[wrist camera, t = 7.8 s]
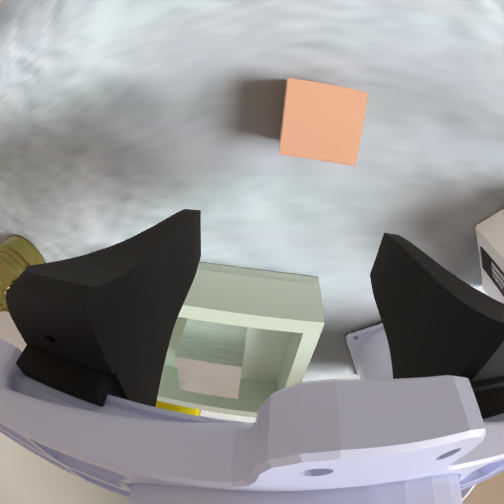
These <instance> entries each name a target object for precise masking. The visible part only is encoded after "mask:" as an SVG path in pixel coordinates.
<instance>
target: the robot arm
mask: <svg viewBox="0 0 504 504" xmlns="http://www.w3.org/2000/svg"><path fill="white" fill-rule="evenodd" d="M200 257H201V231H200V210H189V209H184V210H182V211H180V212H178V213H176V214H174V215H172V216H171V217H169V218H167V219H165V220H164V221H162V222H160V223H158V224H157V225H155V226H153V227H151V228H149V229H147V230H145V231H143V232H141V233H140V234H138V235H136V236H134V237H132V238H130V239H127V240H125V241H123V242H120V243H118V244H116V245H113V246H110V247H108V248H105V249H102V250H99V251H96V252H93V253H90V254H86V255H83V256H79V257H75V258H71V259H66V260H62V261H57V262H50V263H43V264H37V265H29V266H28V267H27V268H26V269H25V270H24V271H23V272H22V273H21V274H20V275H19V277H18V278H17V279H16V280H15V281H14V282H13V283H12V284H11V285H10V287H9V288H8V289H7V291H6V303H7V308H8V311H9V313H10V315H11V317H12V319H13V321H14V323H15V325H16V327H17V328H18V330H19V332H20V333H21V335H22V337H23V339H24V341H25V342H26V344H27V346H26V348H25V349H24V351H23V352H22V351H21V350H20V349H18V348H17V347H16V346H14V345H12V344H10V343H8V342H6V341H4V340H2V339H0V432H1V433H3V434H5V435H6V436H7V437H9V438H10V439H12V440H13V441H15V442H17V443H18V444H20V445H21V446H23V447H24V448H26V449H28V450H29V451H31V452H33V453H34V454H36V455H38V456H40V457H41V458H43V459H45V460H47V461H48V462H50V463H52V464H54V465H56V466H58V467H60V468H61V469H63V470H65V471H67V472H69V473H71V474H73V475H76V476H78V477H80V478H82V479H84V480H86V481H88V482H91V483H93V484H95V485H98V486H100V487H102V488H105V489H107V490H110V491H113V492H115V493H118V494H121V495H123V496H126V497H128V501H127V504H463V503H462V501H463V500H464V499H465V497H466V496H467V495H468V494H469V493H470V492H471V490H472V489H473V488H474V486H475V485H476V484H477V483H479V482H482V481H484V480H486V479H488V478H490V477H492V476H494V475H496V474H498V473H500V472H502V471H504V304H503V303H501V302H499V301H497V300H495V299H493V298H491V297H489V296H487V295H485V294H484V293H482V292H480V291H478V290H476V289H475V288H473V287H471V286H470V285H468V284H467V283H465V282H464V281H462V280H460V279H459V278H457V277H456V276H455V275H453V274H452V273H450V272H449V271H448V270H446V269H445V268H443V267H442V266H441V265H439V264H438V263H437V262H435V261H434V260H433V259H432V258H430V257H429V256H428V255H426V254H425V253H424V252H422V251H421V250H420V249H418V248H417V247H416V246H414V245H413V244H412V243H410V242H409V241H407V240H406V239H404V238H403V237H401V236H399V235H395V234H389V233H384V236H383V239H382V242H381V245H380V248H379V251H378V254H377V257H376V260H375V262H374V265H373V268H372V271H371V274H370V277H371V283H372V289H373V294H374V298H375V301H376V304H377V308H378V311H379V314H380V317H381V320H382V323H381V324H378V325H375V326H372V327H369V328H366V329H362V330H359V331H356V332H352V333H349V334H348V335H346V341H347V344H348V347H349V350H350V353H351V356H352V359H353V362H354V366H355V369H356V372H357V375H358V378H360V379H329V380H319V381H309V382H300V383H298V384H295V385H293V386H290V387H287V388H284V389H282V390H279V391H276V392H275V393H273V394H271V395H270V396H269V397H268V398H267V400H266V401H265V402H264V403H263V404H262V405H261V406H260V407H259V409H258V413H257V417H256V422H255V423H245V422H236V421H228V420H221V419H214V418H208V417H202V416H196V415H190V414H185V413H180V412H175V411H170V410H166V409H161V408H157V407H156V402H157V396H158V391H159V386H160V381H161V376H162V371H163V367H164V363H165V359H166V355H167V351H168V347H169V343H170V339H171V336H172V332H173V329H174V326H175V323H176V320H177V318H178V315H179V313H180V311H181V308H182V306H183V304H184V301H185V299H186V297H187V294H188V292H189V290H190V287H191V285H192V283H193V280H194V278H195V275H196V272H197V268H198V264H199V261H200ZM355 336H356V337H355Z"/></svg>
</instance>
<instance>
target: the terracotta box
mask: <svg viewBox="0 0 504 504" xmlns="http://www.w3.org/2000/svg"><path fill="white" fill-rule="evenodd" d="M367 98H368V93H367V92H363V91H359V90H354V89H350V88H345V87H340V86H335V85H330V84H324V83H319V82H313V81H306V80H299V79H292V78H287V79H286V86H285V95H284V104H283V113H282V122H281V130H280V139H279V155H287V156H294V157H302V158H309V159H315V160H322V161H328V162H334V163H340V164H345V165H351V166H355V165H356V160H357V155H358V150H359V145H360V139H361V134H362V128H363V123H364V117H365V110H366V104H367Z"/></svg>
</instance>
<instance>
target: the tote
mask: <svg viewBox="0 0 504 504" xmlns="http://www.w3.org/2000/svg"><path fill="white" fill-rule="evenodd" d="M188 318H189V319H195V320H201V321H208V322H214V323H221V324H228V325H235V326H243V327H247V333H246V341H245V349H244V357H243V364H242V371H241V379H240V386H239V393H238V399H234V398H227V397H220V396H214V395H207V394H202V393H196V392H191V391H185V390H181V389H180V384H179V378H178V372H177V366H176V360H175V355H176V352H177V349H178V346H179V343H180V340H181V337H182V334H183V331H184V328H185V325H186V322H187V319H188ZM324 324H325V320H324V313H323V306H322V299H321V292H320V285H319V278H318V277H313V276H305V275H296V274H288V273H280V272H272V271H264V270H256V269H248V268H240V267H233V266H225V265H217V264H210V263H203V262H199V264H198V268H197V272H196V275H195V278H194V280H193V283H192V285H191V287H190V290H189V292H188V294H187V297H186V299H185V301H184V304H183V306H182V308H181V311H180V313H179V315H178V318H177V320H176V323H175V326H174V329H173V332H172V336H171V339H170V343H169V347H168V351H167V355H166V359H165V363H164V367H163V371H162V376H161V381H160V386H159V391H158V396H157V401H161V402H165V403H170V404H174V405H179V406H184V407H189V408H194V409H200V410H205V411H211V412H218V413H224V414H231V415H239V416H247V417H257V413H258V409H259V407H260V406H261V405H262V404H263V403H264V402H265V401H266V400H267V398H268V397H269V396H270V395H271V394H273V393H275V392H276V391H279V390H282V389H284V388H287V387H290V386H293V385H295V384H298V383H300V382H302V379H303V377H304V375H305V372H306V370H307V367H308V365H309V363H310V360H311V358H312V355H313V352H314V350H315V347H316V345H317V342H318V340H319V337H320V334H321V332H322V329H323V326H324Z"/></svg>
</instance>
